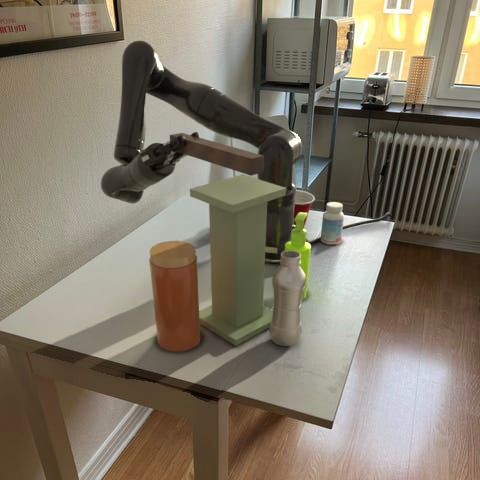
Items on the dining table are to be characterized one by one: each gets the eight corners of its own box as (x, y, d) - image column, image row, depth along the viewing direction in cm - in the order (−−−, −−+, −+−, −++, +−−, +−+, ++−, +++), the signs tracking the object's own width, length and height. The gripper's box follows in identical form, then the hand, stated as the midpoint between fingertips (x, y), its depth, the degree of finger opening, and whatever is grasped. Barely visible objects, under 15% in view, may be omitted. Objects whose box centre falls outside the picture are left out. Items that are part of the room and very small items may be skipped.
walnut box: (170, 149, 102) (169, 134, 100) (182, 147, 104) (181, 132, 102) (251, 175, 87) (251, 158, 86) (263, 172, 89) (264, 155, 88)
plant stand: (193, 319, 110) (186, 187, 94) (238, 297, 118) (239, 173, 102) (235, 346, 102) (236, 206, 85) (281, 321, 110) (290, 189, 93)
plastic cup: (302, 242, 145) (305, 203, 139) (270, 234, 150) (271, 196, 144) (317, 230, 153) (321, 193, 147) (286, 223, 158) (288, 186, 151)
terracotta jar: (194, 324, 108) (190, 237, 97) (205, 347, 101) (201, 256, 90) (154, 331, 106) (145, 243, 95) (162, 355, 99) (152, 263, 88)
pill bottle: (340, 246, 144) (345, 209, 138) (319, 244, 145) (323, 207, 139) (341, 237, 149) (345, 202, 143) (321, 236, 150) (324, 200, 144)
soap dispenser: (309, 289, 122) (316, 212, 111) (303, 302, 116) (310, 223, 105) (286, 285, 123) (291, 209, 113) (279, 298, 118) (284, 219, 107)
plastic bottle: (266, 332, 106) (270, 247, 95) (297, 331, 106) (305, 246, 95) (270, 350, 100) (275, 262, 89) (303, 349, 101) (311, 261, 90)
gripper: (118, 155, 107) (155, 124, 93) (170, 144, 115) (211, 115, 102) (131, 188, 109) (169, 163, 95) (182, 175, 117) (223, 150, 103)
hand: (190, 138), depth 98 cm, fingers closed on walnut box, 3 cm apart
